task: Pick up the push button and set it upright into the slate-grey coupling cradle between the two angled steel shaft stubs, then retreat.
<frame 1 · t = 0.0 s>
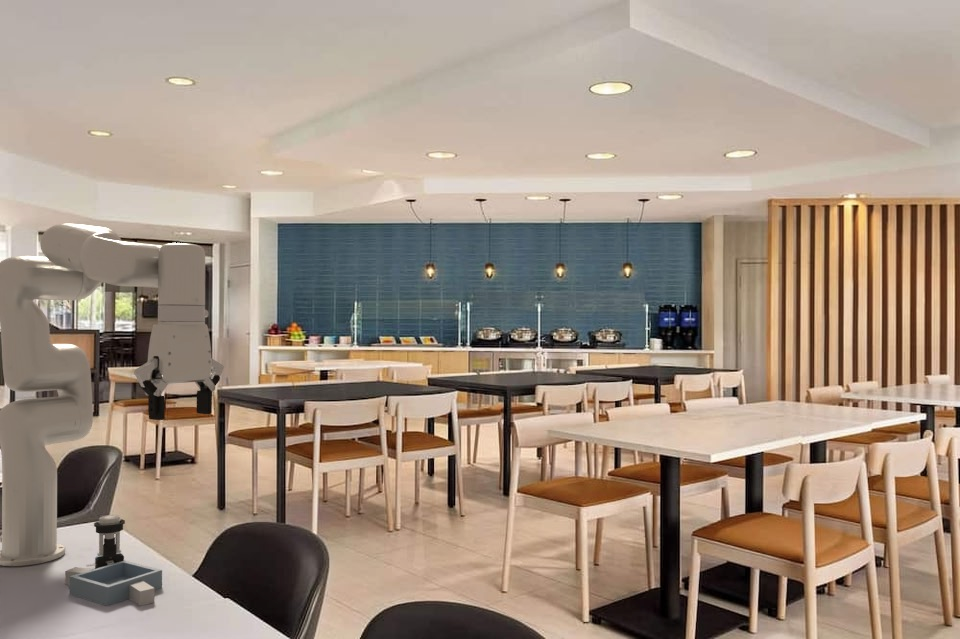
hand: (181, 416, 134), 31 cm above the table, tool pointing down, fingers open, 9 cm apart
push button: (105, 571, 149), on the table
coupling cradle: (116, 590, 138), on the table
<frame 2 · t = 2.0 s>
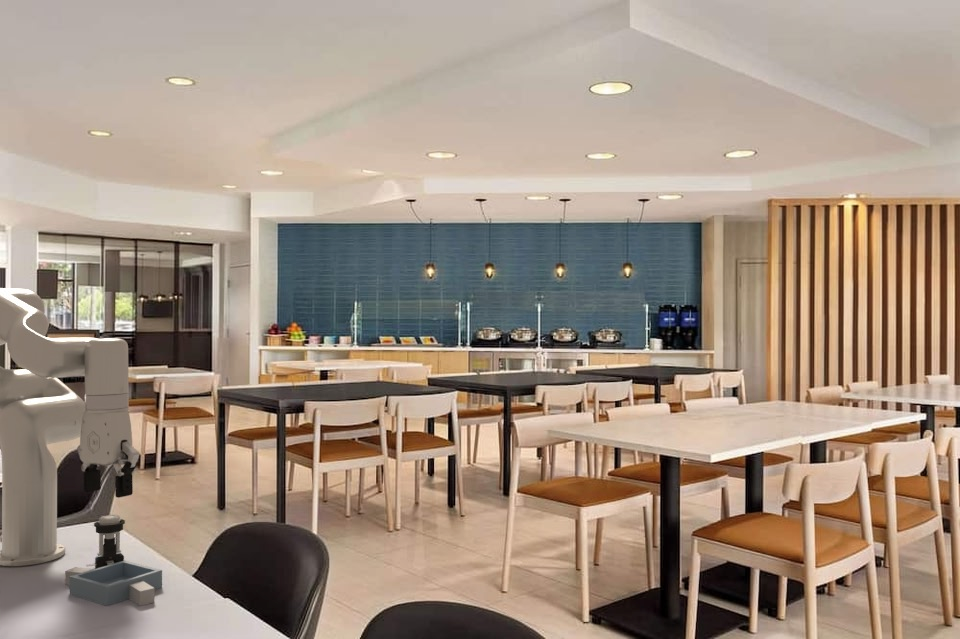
hand: (107, 493, 149), 15 cm above the table, tool pointing down, fingers open, 9 cm apart
nothing on the table moved.
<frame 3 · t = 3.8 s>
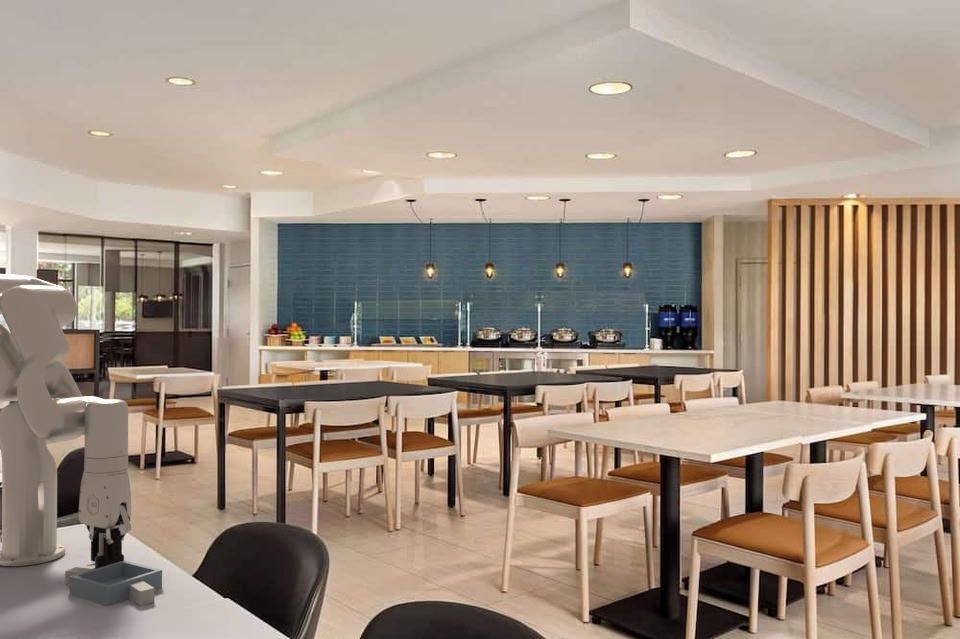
hand: (106, 560, 149), 2 cm above the table, tool pointing down, fingers closed on push button, 3 cm apart
push button: (105, 571, 149), on the table, touching gripper
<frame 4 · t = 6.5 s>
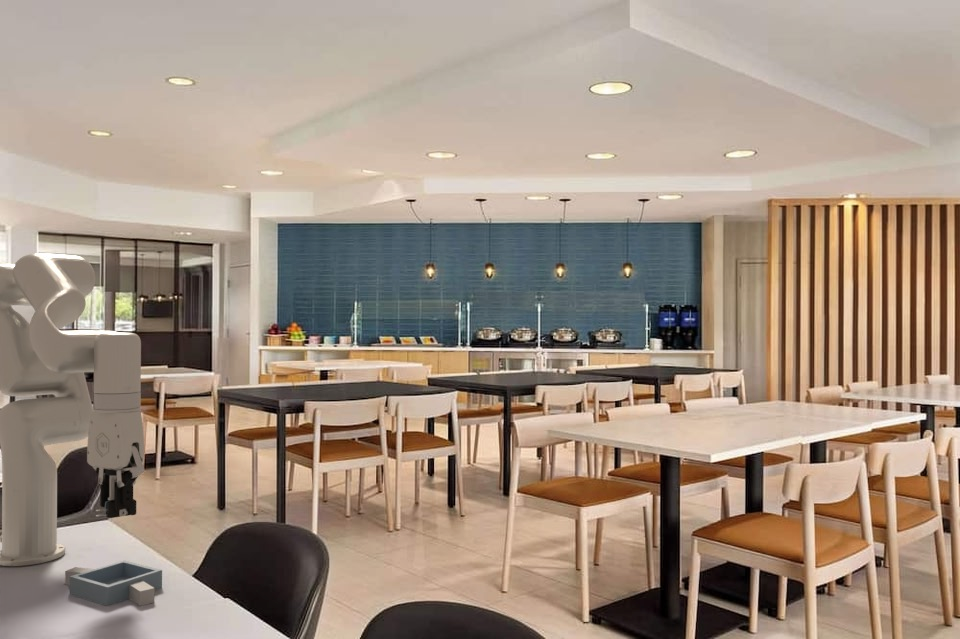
hand: (116, 506, 138), 15 cm above the table, tool pointing down, fingers closed on push button, 3 cm apart
push button: (116, 517, 138), point 13 cm above the table, touching gripper
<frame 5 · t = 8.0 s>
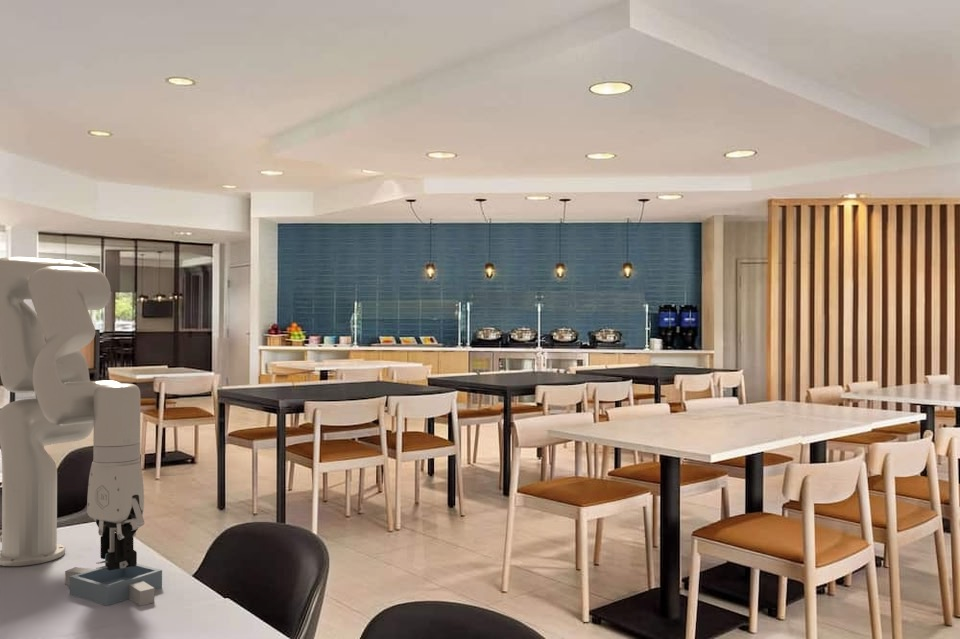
hand: (117, 557, 138), 6 cm above the table, tool pointing down, fingers closed on push button, 3 cm apart
push button: (116, 568, 138), point 4 cm above the table, touching gripper
when the fingers open (4 cm above the table, at t = 9.1 s): push button drops 1 cm, resting on coupling cradle.
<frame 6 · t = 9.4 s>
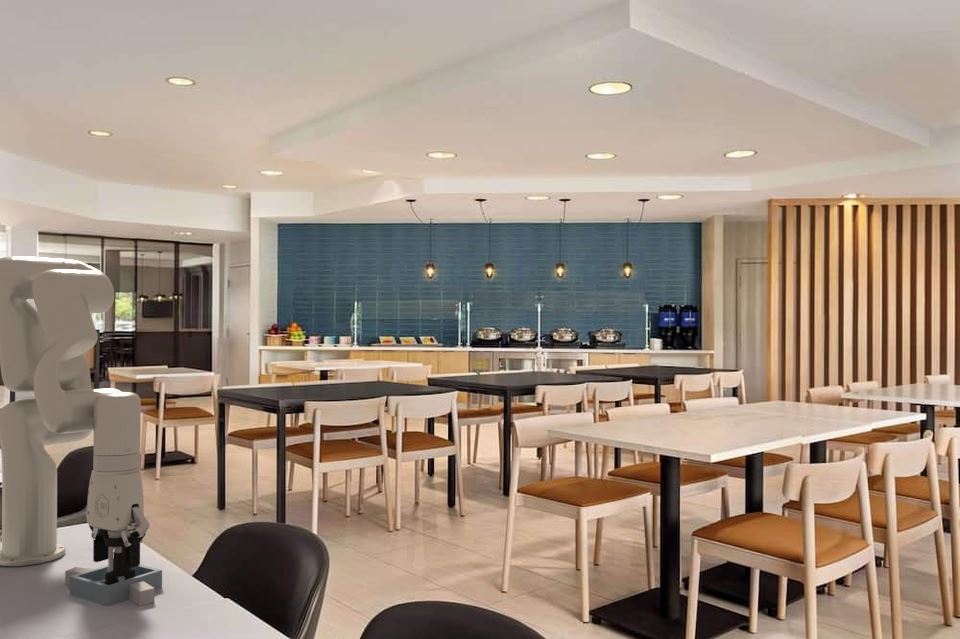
hand: (116, 563, 138), 5 cm above the table, tool pointing down, fingers open, 7 cm apart
push button: (115, 587, 138), resting on coupling cradle
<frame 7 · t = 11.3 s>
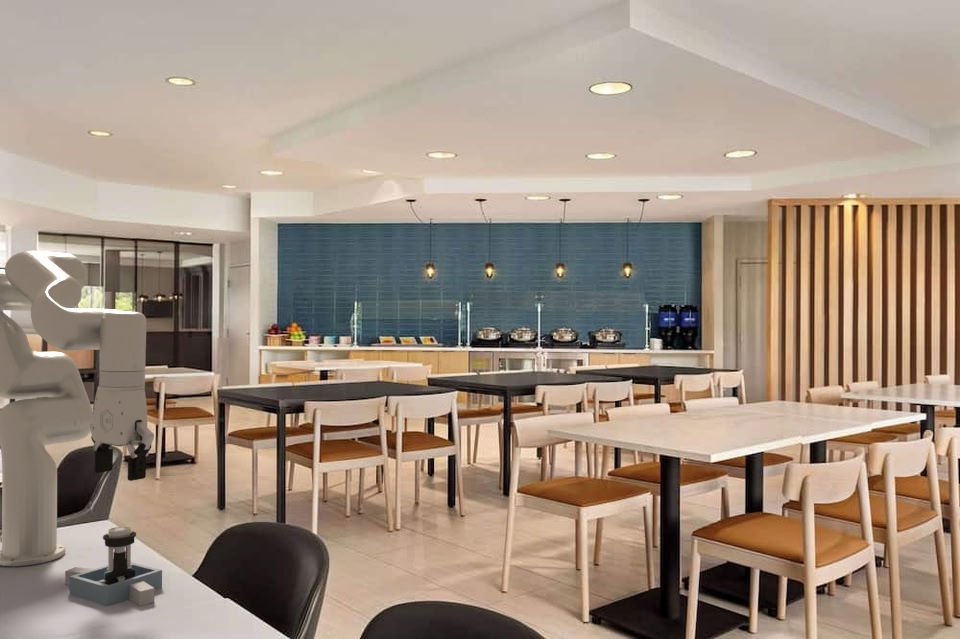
hand: (119, 475, 141), 20 cm above the table, tool pointing down, fingers open, 9 cm apart
nothing on the table moved.
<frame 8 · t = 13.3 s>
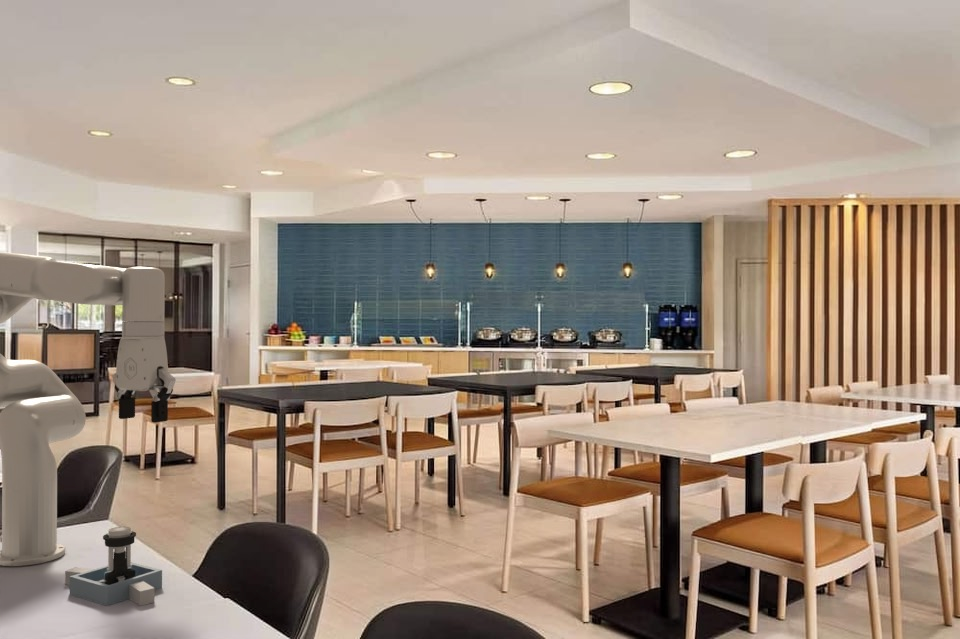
hand: (142, 419, 151), 28 cm above the table, tool pointing down, fingers open, 9 cm apart
nothing on the table moved.
at the end: push button 0.5 cm off-centre on the coupling cradle, point 0.4 cm above the coupling cradle's base; push button tilted 0°; the gripper is holding nothing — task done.
